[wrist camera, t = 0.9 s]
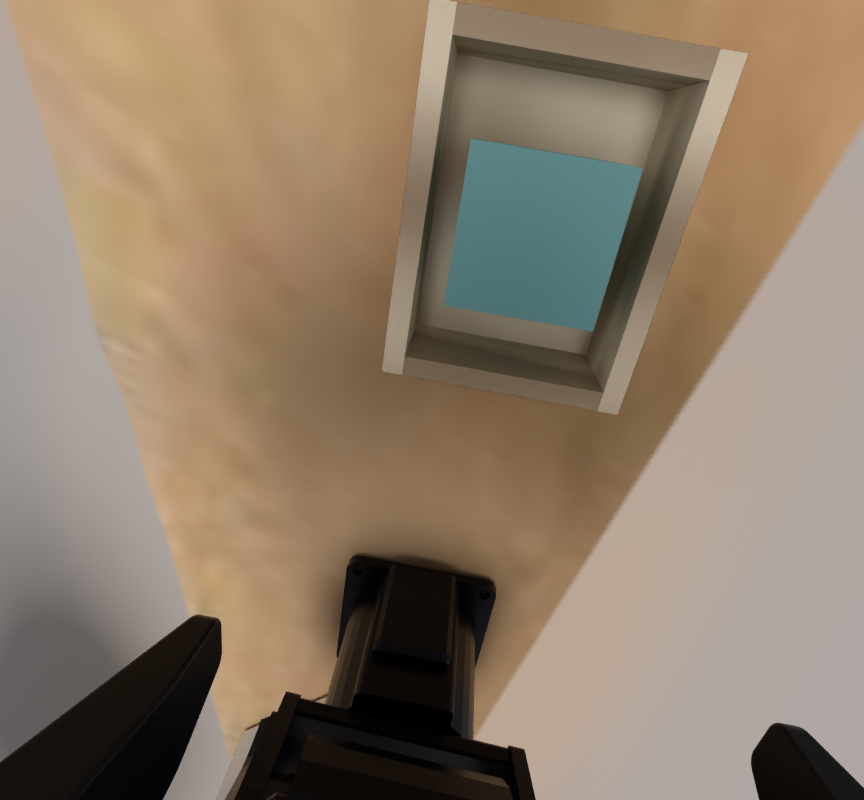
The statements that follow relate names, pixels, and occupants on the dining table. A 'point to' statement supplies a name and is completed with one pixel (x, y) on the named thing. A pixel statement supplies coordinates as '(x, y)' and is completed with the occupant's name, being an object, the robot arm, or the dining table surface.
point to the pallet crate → (562, 133)
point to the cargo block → (538, 233)
